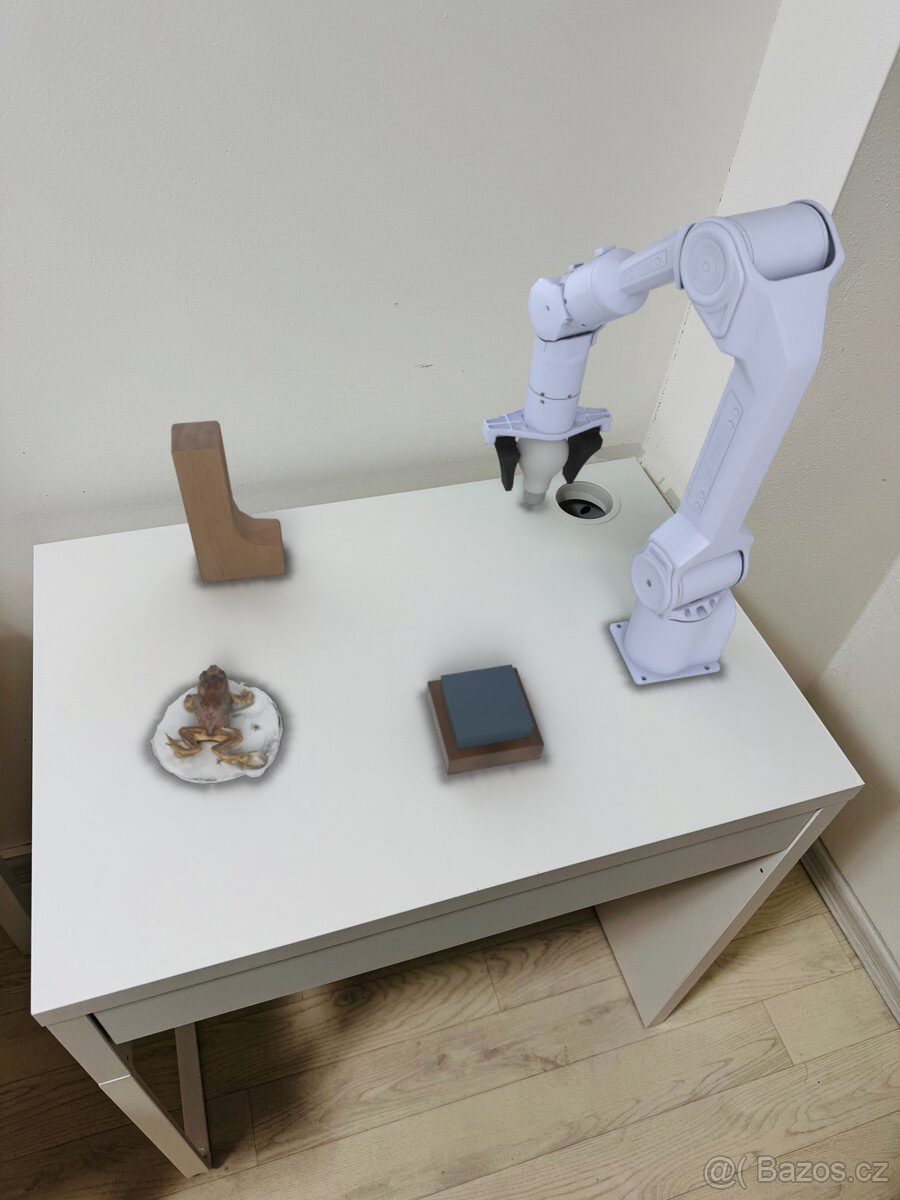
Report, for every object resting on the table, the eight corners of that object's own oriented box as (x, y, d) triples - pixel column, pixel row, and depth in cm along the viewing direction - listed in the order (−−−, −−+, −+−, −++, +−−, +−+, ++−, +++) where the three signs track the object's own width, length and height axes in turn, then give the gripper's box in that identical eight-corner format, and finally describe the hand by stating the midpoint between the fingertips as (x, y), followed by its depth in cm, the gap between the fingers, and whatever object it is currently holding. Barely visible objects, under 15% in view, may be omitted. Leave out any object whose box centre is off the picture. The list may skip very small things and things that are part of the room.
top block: (509, 676, 81) (512, 664, 80) (530, 737, 77) (533, 724, 75) (439, 687, 80) (440, 675, 78) (457, 750, 75) (458, 738, 74)
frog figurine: (152, 688, 81) (144, 664, 78) (278, 673, 83) (275, 649, 80) (148, 793, 73) (138, 771, 71) (286, 774, 76) (282, 752, 73)
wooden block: (283, 546, 95) (266, 414, 81) (286, 575, 92) (270, 443, 78) (201, 555, 93) (170, 422, 80) (202, 584, 90) (170, 451, 77)
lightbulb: (554, 523, 100) (570, 450, 92) (504, 514, 100) (515, 441, 92) (560, 491, 104) (575, 418, 96) (512, 482, 104) (523, 409, 96)
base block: (513, 681, 84) (516, 666, 82) (540, 758, 78) (544, 744, 76) (426, 696, 82) (427, 681, 80) (447, 775, 76) (448, 761, 75)
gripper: (605, 358, 93) (583, 454, 104) (479, 368, 90) (469, 467, 101) (628, 395, 89) (603, 492, 99) (497, 407, 86) (485, 506, 96)
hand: (537, 482), depth 100 cm, fingers open, 7 cm apart
